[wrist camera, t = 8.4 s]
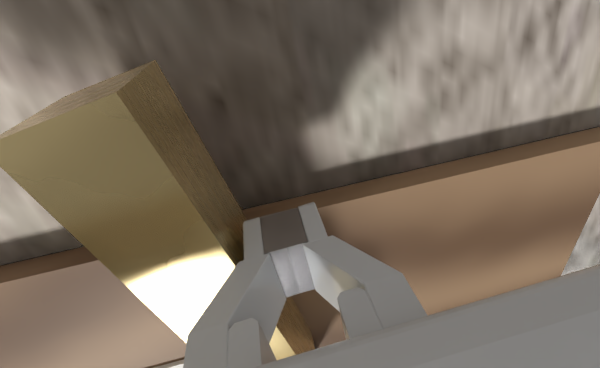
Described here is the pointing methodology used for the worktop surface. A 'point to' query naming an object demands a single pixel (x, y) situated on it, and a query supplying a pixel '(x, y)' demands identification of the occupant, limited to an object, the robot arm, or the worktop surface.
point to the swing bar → (140, 196)
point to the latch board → (349, 228)
